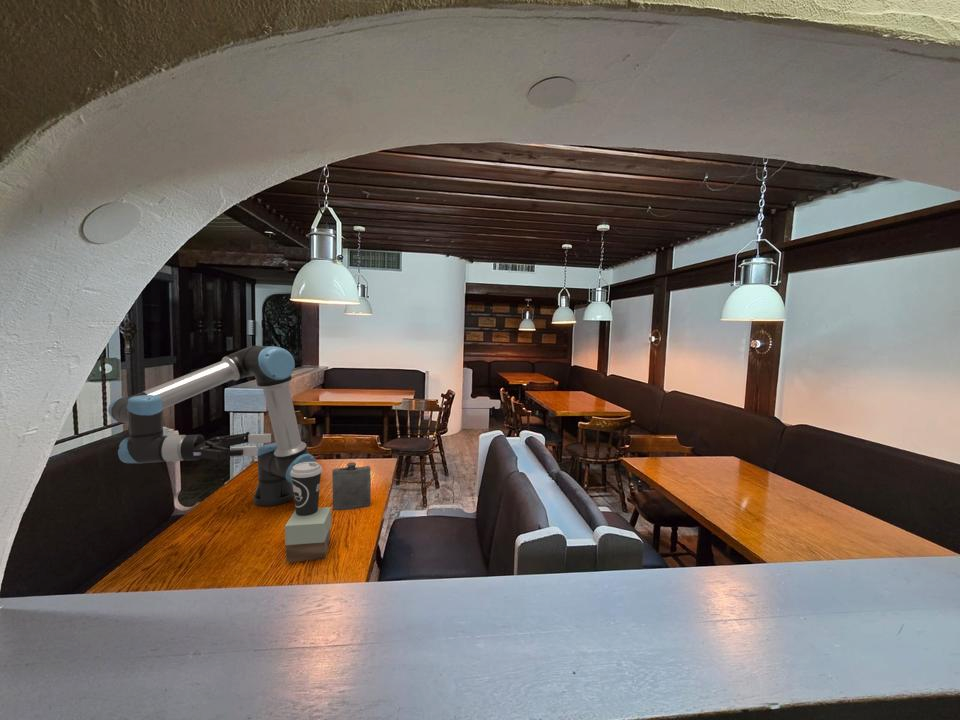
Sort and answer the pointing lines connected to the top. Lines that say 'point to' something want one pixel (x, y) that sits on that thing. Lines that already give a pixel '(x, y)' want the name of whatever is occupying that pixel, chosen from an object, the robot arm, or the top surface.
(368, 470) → the flask
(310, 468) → the coffee cup
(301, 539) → the tower top
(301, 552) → the tower base
